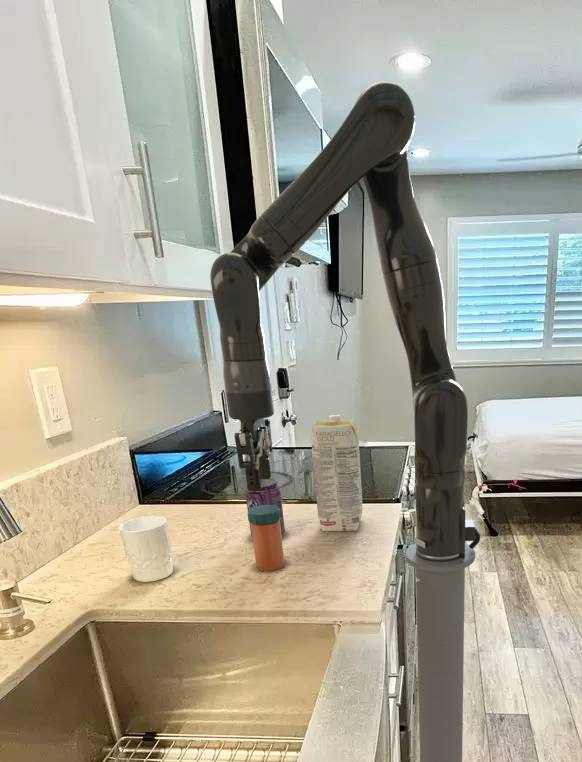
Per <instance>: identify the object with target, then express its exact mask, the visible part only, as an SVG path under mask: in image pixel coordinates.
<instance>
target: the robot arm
mask: <svg viewBox="0 0 582 762" xmlns="http://www.w3.org/2000/svg"><path fill="white" fill-rule="evenodd" d="M344 119H345V120H343V122H342V124H341V126H340V127H339V128H338V130H337V131H336V132H335V134H334V135H333V136H332V138H331V139H329V141H328V143H327V144H326V145H325V146H324V147H323V149H322V150H321V151H320V152H319V154H318V155H317V156H316V157H315V158H314V159H313V160H312V161H311V162H310V163H309V165H308V166H307V167H306V168H305V169H304V170H303V171H302V172H301V173H300V174H299V175H298V176H297V177H296V178H295V179H294V180H293V181H292V182H291V183H290V184H289V185H288V186H287V187H286V188H285V189H284V190H283V191H282V192H281V193H280V194H279V195H278V196H277V197H276V198H275V199H274V200H273V201H272V202H271V204H269V206H268V207H267V208H266V209H265V210H264V211H263V212H261V214H260V215H259V216H258V217H257V218H256V220H255V221H254V222H253V224H252V225H251V227H250V229H249V230H248V233H247V234H246V236H245V237H243V239H241V240H240V241H239V242H238V243H237V245H236V246H235V247H233V249H232V250H231V251H230V252H225V253H222V254H220V255H219V256H218V257H217V258H216V259H215V260H214V261H213V263H212V265H211V266H210V267H211V268H210V272H209V280H210V287H211V292H212V293H211V294H212V298H213V299H212V300H213V303H214V308H215V313H216V317H217V321H218V327H219V328H218V329H219V342H220V348H221V349H220V350H221V357H222V376H223V384H224V390H225V391H224V392H225V399H226V407H227V413H228V417H229V418H230V419H232V420H238V421H239V422H240V429H239V431H238V432H235V433H234V441H235V449H236V455H237V460H238V468H239V469H243V470H244V472H245V480H246V483H247V484H246V488H248V490H249V491H259V490H260V489H261V480H260V479H270V478H272V471H271V461H270V458H271V455H272V452H273V450H274V449H273V442H272V430H271V421H270V417H272V416H274V415H275V405H274V398H273V388H272V379H271V372H270V367H269V362H268V358H267V347H266V338H265V333H264V328H263V325H262V319H261V303H260V302H261V301H260V291H261V290H262V289H263V288H264V287H265V285H266V284H267V283H268V281H270V279H271V278H272V277H273V276H274V275H275V273H277V271H278V270H279V269H280V267H282V266H283V265H284V264H285V263H287V262H288V261H289V260H290V259H292V257H293V256H294V255H295V254H297V252H298V251H299V250H300V249H301V248H302V247H303V246H304V245H305V244H306V243H307V242H308V241H309V240H310V239H311V238H312V237H313V235H315V233H316V232H318V230H319V229H320V227H321V226H322V225H323V223H324V222H325V221H326V220H327V219H328V217H329V216H330V215H331V214H332V212H333V211H335V208H336V207H337V206H338V204H340V202H341V201H342V200H343V199H344V198H345V196H346V195H347V194H348V193H349V192H350V191H351V189H352V188H353V187H354V186H355V185H357V184H358V182H359V181H360V180H361V179H362V183H363V186H364V189H365V192H366V195H367V198H368V202H369V205H370V210H371V215H372V222H373V230H374V236H375V242H376V248H377V252H378V257H379V258H378V259H379V263H380V269H381V273H382V278H383V282H384V286H385V291H386V295H387V299H388V302H389V307H390V310H391V312H392V316H393V319H394V322H395V325H396V328H397V330H398V333H399V336H400V338H401V342H402V344H403V348H404V350H405V354H406V358H407V363H408V369H409V370H408V371H409V376H410V377H409V378H410V384H411V392H412V408H413V415H414V417H413V418H414V420H413V421H414V486H415V487H414V489H415V491H414V492H415V493H414V494H415V533H416V534H415V536H413V542H414V543H413V544H415V543H416V554H417V555H418V556H419V557H420V558H422V559H425V560H429V561H436V562H444V561H452V560H455V559H458V558H465V543H466V542H470V544H468V545H469V547H470V548H471V549H475V547H476V546H477V545H479V543H480V541H481V534H480V532H479V531H478V529H477V528H476V524H475V522H474V519H466V508H465V487H466V486H465V480H466V477H465V475H466V455H467V452H468V451H467V450H468V425H469V423H468V421H469V419H468V418H469V409H468V408H469V407H468V406H469V405H468V399H467V395H466V393H465V391H464V390H463V388H462V387H461V386H460V385H459V383H458V380H457V377H456V375H455V371H454V368H453V364H452V360H451V358H450V354H449V350H448V344H447V336H446V335H447V333H446V311H445V309H446V308H445V298H444V297H445V296H444V289H443V283H442V278H441V273H440V266H439V261H438V257H437V254H436V250H435V246H434V243H433V240H432V237H431V235H430V233H429V230H428V227H427V225H426V223H425V220H424V219H423V216H422V214H421V212H420V209H419V208H418V205H417V201H416V199H415V195H414V190H413V186H412V179H411V173H410V166H409V158H408V157H409V156H408V146H409V144H410V143H411V141H412V138H413V135H414V131H415V125H416V113H415V108H414V104H413V101H412V99H411V97H410V96H409V93H407V91H406V90H405V89H404V88H402V87H401V86H400V85H399V84H397V83H395V82H392V81H377V82H374V83H372V84H371V85H369V86H367V87H366V88H365V89H363V91H362V92H361V93H360V94H359V96H358V97H357V99H356V102H355V103H354V105H353V107H352V109H351V110H350V112H349V113H348V114H347V116H346V118H344Z"/></svg>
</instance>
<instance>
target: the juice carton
mask: <svg viewBox="0 0 582 762" xmlns="http://www.w3.org/2000/svg"><path fill="white" fill-rule="evenodd" d="M355 421H356V420H354V419H344V420H342V416H341V415H340V414H335V415H328V420H317V421H316V422H315V424H314V425H313V426H312V428H311V429H312V431H311V453H312V466H313V474H314V475H313V476H314V488H315V497H316V507H317V516H318V521H319V524H320V528H321V530H322V531H323V532H355V531H356V532H357V531H358V529H359V526H360V522H361V520H362V519H361V518H362V514H363V488H362V473H361V456H360V455H361V454H360V442H359V439H360V438H359V433H358V430H357V426H356V422H355Z"/></svg>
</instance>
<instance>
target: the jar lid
mask: <svg viewBox="0 0 582 762" xmlns="http://www.w3.org/2000/svg"><path fill="white" fill-rule="evenodd" d="M280 517H281V514H280V509H279V507H278V506H276V505H259V506H255V507H252V508H250V509H249V510H248V509H247V520H248V522H250V523H252V524H256V525H265V524H271V523H274V522H277V521H278V520H280Z"/></svg>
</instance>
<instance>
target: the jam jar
mask: <svg viewBox="0 0 582 762" xmlns="http://www.w3.org/2000/svg"><path fill="white" fill-rule="evenodd" d="M250 524H251V531H252V536H251V537H252V547H253V551H254V552H253V553H254V559H255V566H256V567H255V568H256V569H257V570H258V571H261V572H274V571H277V570H278V571H279V570H280V569H282V568H283V567H285V565H286V563H285V554H284V544H283V537H282V536H283V535H281V528H280V520H278V521H277V522H274V523H271V524H265V525H256V524H252V523H250ZM250 524H249V525H250ZM251 531H250V532H251Z"/></svg>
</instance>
